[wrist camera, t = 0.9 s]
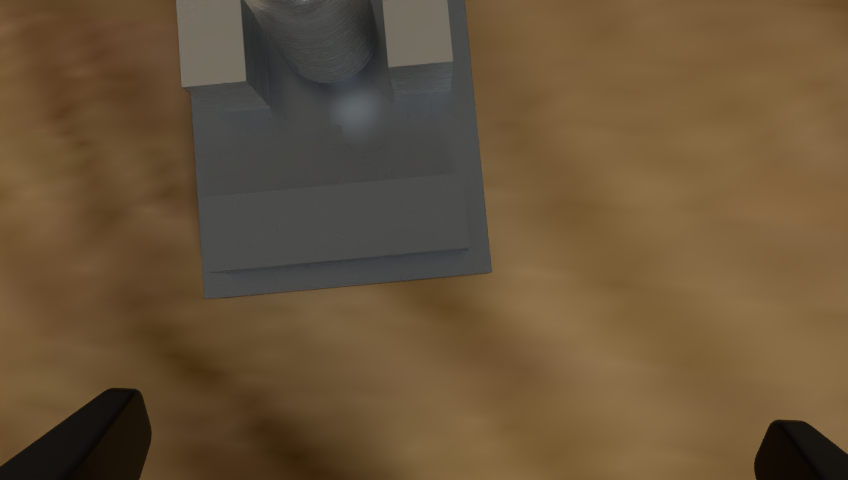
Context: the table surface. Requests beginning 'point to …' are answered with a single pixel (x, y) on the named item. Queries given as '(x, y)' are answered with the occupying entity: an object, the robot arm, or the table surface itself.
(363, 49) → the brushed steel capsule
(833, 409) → the table surface
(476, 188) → the vise
